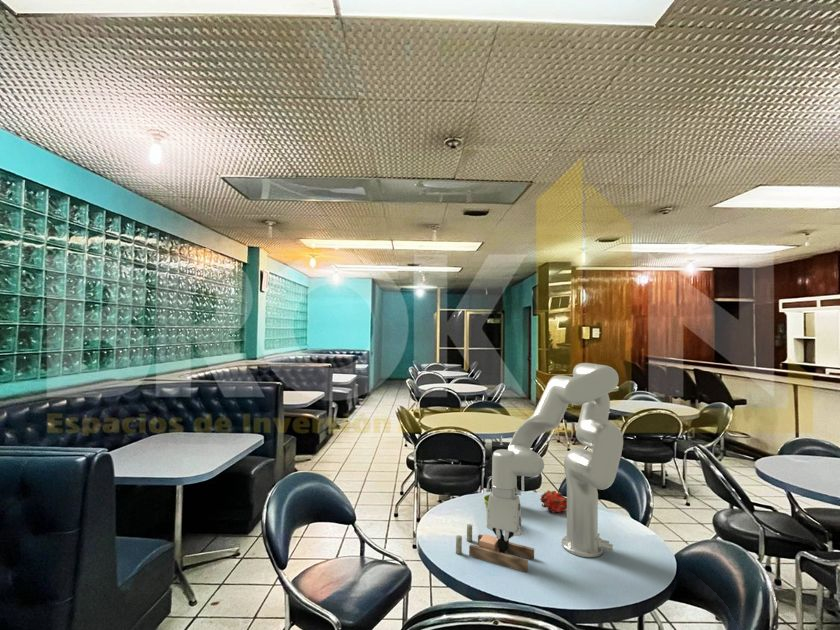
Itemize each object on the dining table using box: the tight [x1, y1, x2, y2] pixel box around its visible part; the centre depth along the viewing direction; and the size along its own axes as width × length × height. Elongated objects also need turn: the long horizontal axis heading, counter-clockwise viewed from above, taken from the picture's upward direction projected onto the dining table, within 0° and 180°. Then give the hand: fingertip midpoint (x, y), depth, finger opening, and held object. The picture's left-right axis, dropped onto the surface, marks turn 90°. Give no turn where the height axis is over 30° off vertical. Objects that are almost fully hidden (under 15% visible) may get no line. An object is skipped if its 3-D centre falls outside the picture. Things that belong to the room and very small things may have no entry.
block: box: [478, 533, 499, 552], centre depth 133 cm, size 5×5×4 cm
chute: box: [455, 524, 535, 573], centre depth 132 cm, size 22×11×5 cm, turn 62°
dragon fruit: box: [539, 490, 567, 514], centre depth 166 cm, size 8×8×12 cm
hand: (503, 551), depth 131 cm, fingers closed
